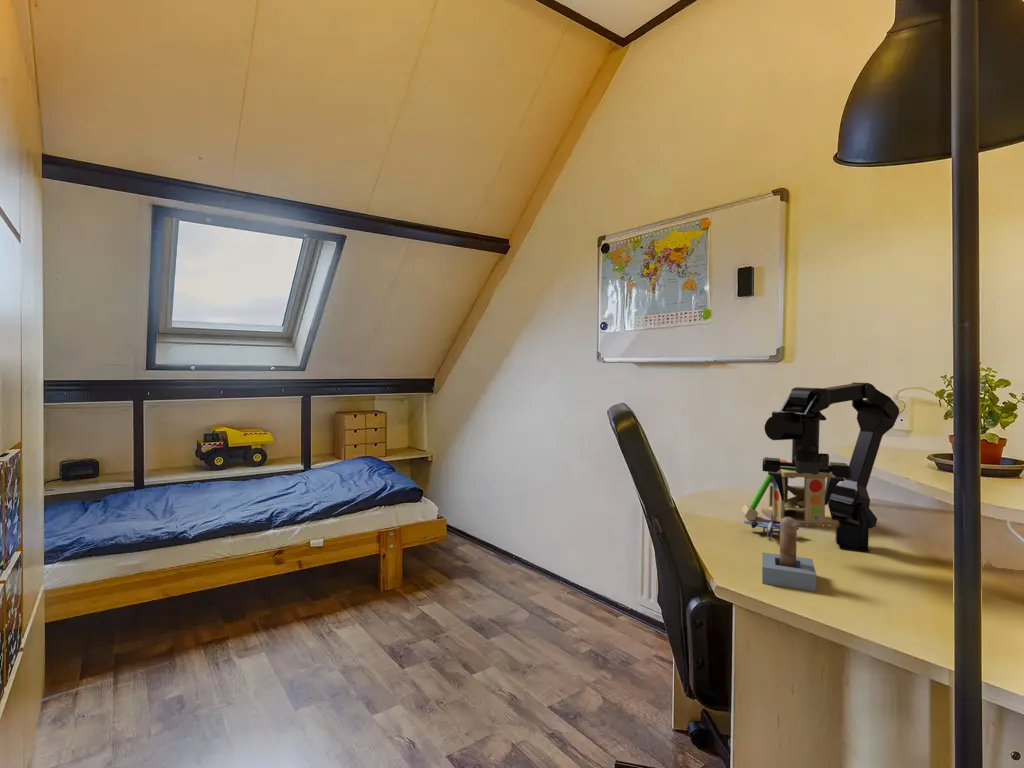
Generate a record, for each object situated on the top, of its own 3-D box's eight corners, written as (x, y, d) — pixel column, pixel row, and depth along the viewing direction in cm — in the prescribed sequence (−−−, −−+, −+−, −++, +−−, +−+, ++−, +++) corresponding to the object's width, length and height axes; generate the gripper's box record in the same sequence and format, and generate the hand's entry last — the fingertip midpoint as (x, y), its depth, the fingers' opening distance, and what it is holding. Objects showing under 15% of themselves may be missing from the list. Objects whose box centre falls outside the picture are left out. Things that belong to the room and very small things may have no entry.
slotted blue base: (811, 574, 118) (812, 558, 118) (816, 591, 109) (816, 574, 109) (762, 567, 122) (762, 552, 122) (762, 583, 113) (762, 567, 113)
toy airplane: (767, 546, 137) (767, 532, 137) (734, 530, 150) (734, 517, 150) (811, 543, 139) (811, 529, 139) (774, 527, 153) (774, 515, 153)
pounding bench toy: (753, 526, 154) (754, 465, 154) (734, 512, 169) (734, 456, 168) (833, 526, 154) (834, 465, 153) (807, 513, 168) (808, 457, 167)
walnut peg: (792, 576, 117) (793, 515, 117) (798, 582, 114) (799, 519, 114) (777, 575, 117) (777, 514, 117) (782, 581, 114) (783, 518, 114)
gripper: (763, 440, 126) (761, 505, 126) (856, 445, 118) (854, 515, 118) (763, 435, 136) (761, 495, 136) (848, 440, 128) (846, 504, 129)
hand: (803, 502), depth 130 cm, fingers open, 9 cm apart
